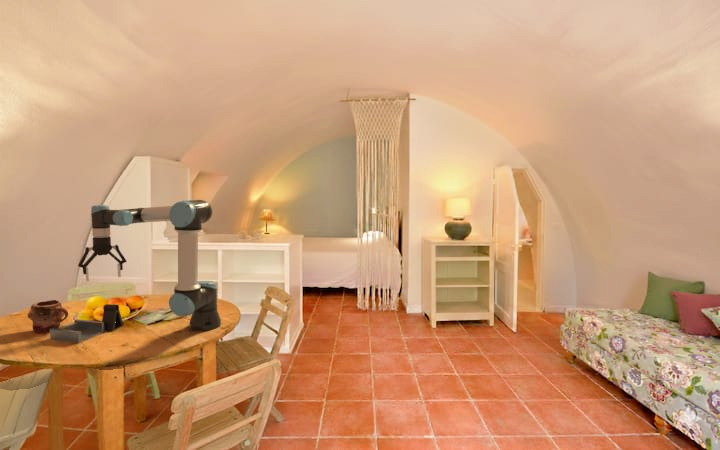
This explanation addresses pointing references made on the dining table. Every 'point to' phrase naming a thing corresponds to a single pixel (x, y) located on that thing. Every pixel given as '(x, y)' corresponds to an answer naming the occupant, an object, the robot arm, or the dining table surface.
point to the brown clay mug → (47, 316)
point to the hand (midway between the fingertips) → (103, 278)
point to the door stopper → (112, 317)
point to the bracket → (77, 331)
